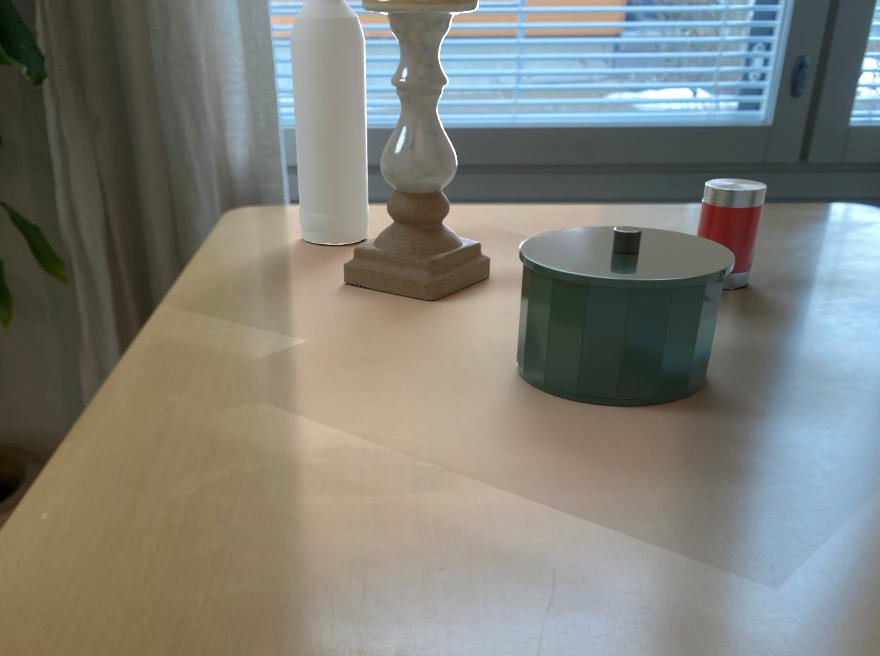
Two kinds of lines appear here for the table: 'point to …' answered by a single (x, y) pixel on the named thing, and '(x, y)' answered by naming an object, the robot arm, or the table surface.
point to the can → (733, 222)
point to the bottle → (330, 122)
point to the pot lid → (626, 257)
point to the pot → (615, 340)
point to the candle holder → (418, 169)
